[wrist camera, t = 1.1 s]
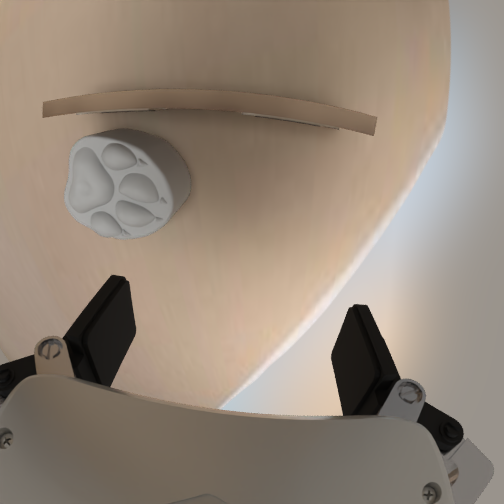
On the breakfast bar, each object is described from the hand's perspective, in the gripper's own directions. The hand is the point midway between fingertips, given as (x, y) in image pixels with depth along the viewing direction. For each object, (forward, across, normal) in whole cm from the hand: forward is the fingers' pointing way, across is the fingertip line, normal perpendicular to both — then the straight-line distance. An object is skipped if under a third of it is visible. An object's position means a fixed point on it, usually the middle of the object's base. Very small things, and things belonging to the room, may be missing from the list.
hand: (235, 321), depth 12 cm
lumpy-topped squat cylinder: (+23, +14, 0) cm, 27 cm away
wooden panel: (+23, +6, -9) cm, 25 cm away
